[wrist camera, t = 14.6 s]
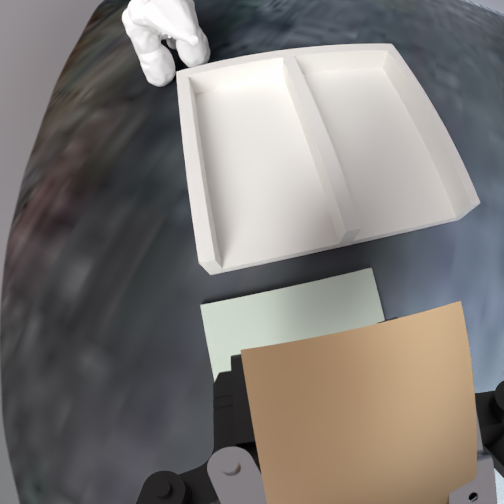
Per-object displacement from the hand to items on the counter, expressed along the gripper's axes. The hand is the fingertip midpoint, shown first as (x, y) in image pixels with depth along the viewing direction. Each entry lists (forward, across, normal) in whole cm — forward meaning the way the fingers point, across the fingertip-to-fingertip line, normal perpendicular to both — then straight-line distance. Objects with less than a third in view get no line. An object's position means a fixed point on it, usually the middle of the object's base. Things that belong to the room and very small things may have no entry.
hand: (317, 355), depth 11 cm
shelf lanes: (+18, -5, -3) cm, 19 cm away
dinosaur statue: (+29, +6, -14) cm, 33 cm away
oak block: (+2, 0, +5) cm, 5 cm away
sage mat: (+6, 0, +8) cm, 10 cm away
